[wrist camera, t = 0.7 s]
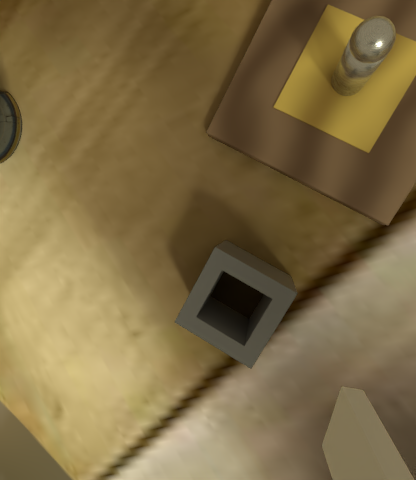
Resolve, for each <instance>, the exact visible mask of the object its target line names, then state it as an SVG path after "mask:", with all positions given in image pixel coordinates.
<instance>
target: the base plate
mask: <svg viewBox="0 0 416 480" xmlns="http://www.w3.org/2000/svg"><path fill="white" fill-rule="evenodd" d="M373 16H384V17H386V18H388V19H390V20H391V21H392V23H393V24H394V26H395V30H396V39H395V43H394V45H393V47H392V49H391V51H390V52H389V54H388V55H387V56H386V58H385V59H384V60H383V62H382V63H381V64H380V65H379V67H378V68H377V69H376V71H375V72H374V73H373V75H372V76H371V77H370V79H369V80H368V81H367V83H366V84H365V85H364V86H363V88H362V89H361V90H360V91H359V92H358V93H356V94H354V95H351V96H343V95H340V94H338V93H337V92H336V91H335V90H334V89H333V87H332V82H331V80H332V75H333V73H334V71H335V69H336V67H337V65H338V62H339V60H340V58H341V56H342V54H343V52H344V50H345V48H346V46H347V44H348V41H349V39H350V37H351V35H352V33H353V31H354V30H355V28H356V27H357V26H358V25H359V24H360V23H361V22H363V21H364V20H366V19H368V18H370V17H373ZM206 133H207V134H208V136H210V137H212V138H214V139H216V140H217V141H219V142H221V143H223V144H225V145H227V146H229V147H231V148H233V149H235V150H237V151H239V152H241V153H243V154H245V155H247V156H249V157H251V158H253V159H255V160H257V161H259V162H260V163H262V164H264V165H266V166H268V167H270V168H272V169H274V170H276V171H278V172H280V173H282V174H284V175H286V176H288V177H290V178H292V179H294V180H296V181H298V182H300V183H302V184H304V185H305V186H307V187H309V188H311V189H313V190H315V191H317V192H319V193H321V194H323V195H325V196H327V197H329V198H331V199H333V200H335V201H337V202H339V203H341V204H343V205H345V206H347V207H349V208H350V209H352V210H354V211H356V212H358V213H360V214H362V215H364V216H366V217H368V218H370V219H372V220H374V221H376V222H378V223H380V224H382V225H389V223H390V222H391V220H392V219H393V217H394V215H395V214H396V212H397V211H398V209H399V208H400V206H401V205H402V203H403V201H404V200H405V198H406V197H407V195H408V194H409V192H410V191H411V189H412V188H413V186H414V184H415V183H416V0H272V1H271V3H270V5H269V7H268V9H267V11H266V13H265V15H264V17H263V19H262V21H261V23H260V25H259V27H258V29H257V31H256V33H255V35H254V37H253V39H252V41H251V43H250V45H249V47H248V49H247V51H246V53H245V55H244V57H243V59H242V61H241V63H240V65H239V67H238V69H237V71H236V73H235V75H234V77H233V79H232V81H231V83H230V85H229V87H228V89H227V91H226V93H225V95H224V97H223V99H222V101H221V103H220V106H219V108H218V110H217V112H216V114H215V116H214V118H213V120H212V122H211V124H210V126H209V128H208V130H207V132H206Z"/></svg>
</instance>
